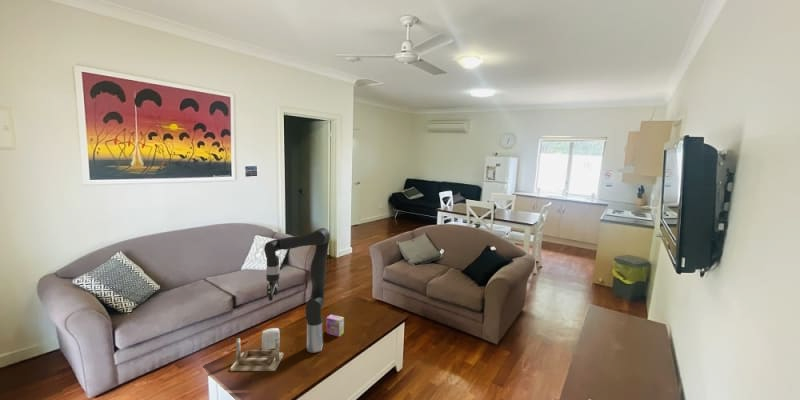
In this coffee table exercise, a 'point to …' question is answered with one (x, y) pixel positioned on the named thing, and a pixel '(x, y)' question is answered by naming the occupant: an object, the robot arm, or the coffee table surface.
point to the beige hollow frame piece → (256, 359)
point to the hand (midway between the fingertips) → (273, 297)
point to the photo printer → (270, 338)
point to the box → (335, 325)
